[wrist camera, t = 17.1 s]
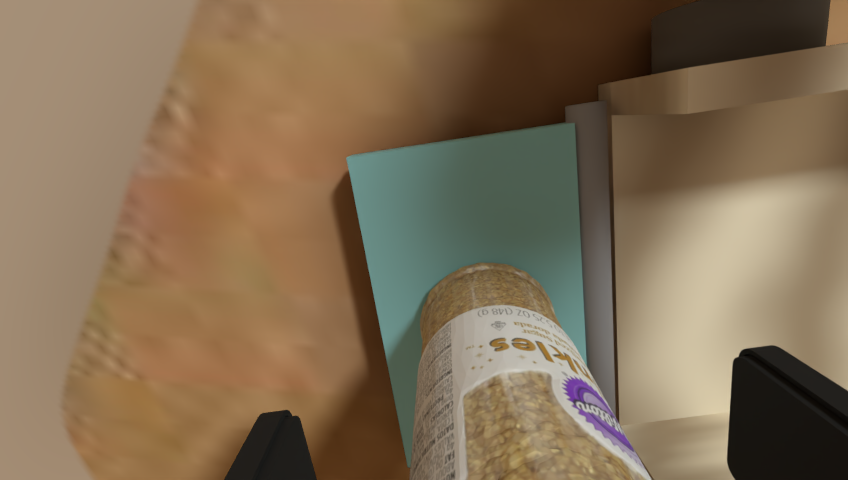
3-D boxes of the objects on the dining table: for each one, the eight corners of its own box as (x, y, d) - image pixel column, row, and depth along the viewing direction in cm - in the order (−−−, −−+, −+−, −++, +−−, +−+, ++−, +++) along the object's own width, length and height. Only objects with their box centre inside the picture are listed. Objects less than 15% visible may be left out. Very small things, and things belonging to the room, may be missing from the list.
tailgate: (613, 99, 12) (342, 141, 13) (621, 459, 16) (409, 479, 16) (598, 101, 13) (350, 139, 14) (609, 436, 17) (411, 456, 18)
